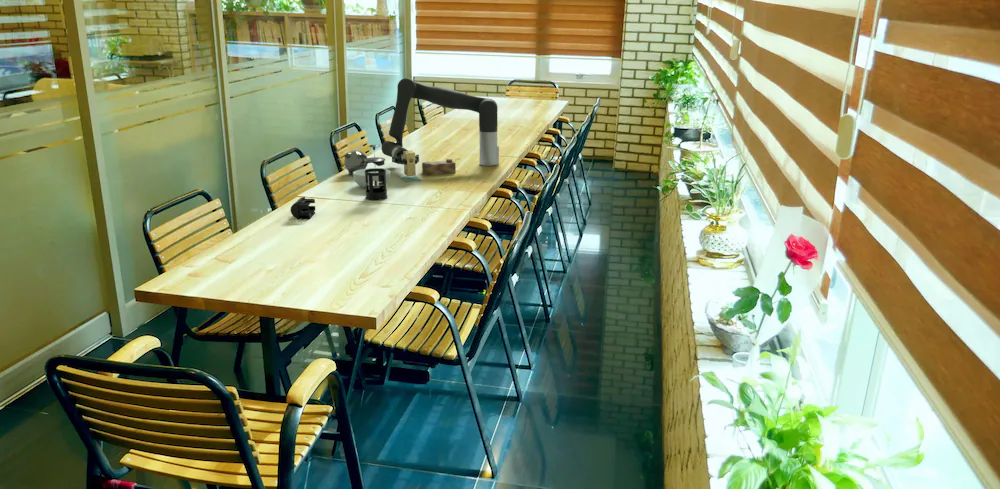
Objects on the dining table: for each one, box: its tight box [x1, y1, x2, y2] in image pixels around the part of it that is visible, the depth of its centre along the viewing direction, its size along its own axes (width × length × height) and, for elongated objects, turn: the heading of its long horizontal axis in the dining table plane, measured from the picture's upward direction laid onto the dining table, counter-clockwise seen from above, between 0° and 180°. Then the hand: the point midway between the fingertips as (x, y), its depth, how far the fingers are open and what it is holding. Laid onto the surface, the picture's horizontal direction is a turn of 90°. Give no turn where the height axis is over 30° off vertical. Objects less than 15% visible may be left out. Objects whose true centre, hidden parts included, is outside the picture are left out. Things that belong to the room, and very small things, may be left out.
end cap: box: [290, 196, 316, 220], centre depth 300 cm, size 10×7×7 cm
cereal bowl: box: [352, 167, 392, 189], centre depth 346 cm, size 17×17×7 cm
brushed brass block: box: [403, 149, 417, 177], centre depth 358 cm, size 4×6×11 cm
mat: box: [399, 175, 422, 183], centre depth 361 cm, size 8×8×1 cm
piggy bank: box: [343, 149, 369, 176], centre depth 369 cm, size 11×15×12 cm
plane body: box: [421, 158, 457, 176], centre depth 373 cm, size 15×6×6 cm, turn 113°
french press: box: [364, 144, 389, 202], centre depth 325 cm, size 12×9×23 cm
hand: (411, 162), depth 356 cm, fingers closed on brushed brass block, 4 cm apart
